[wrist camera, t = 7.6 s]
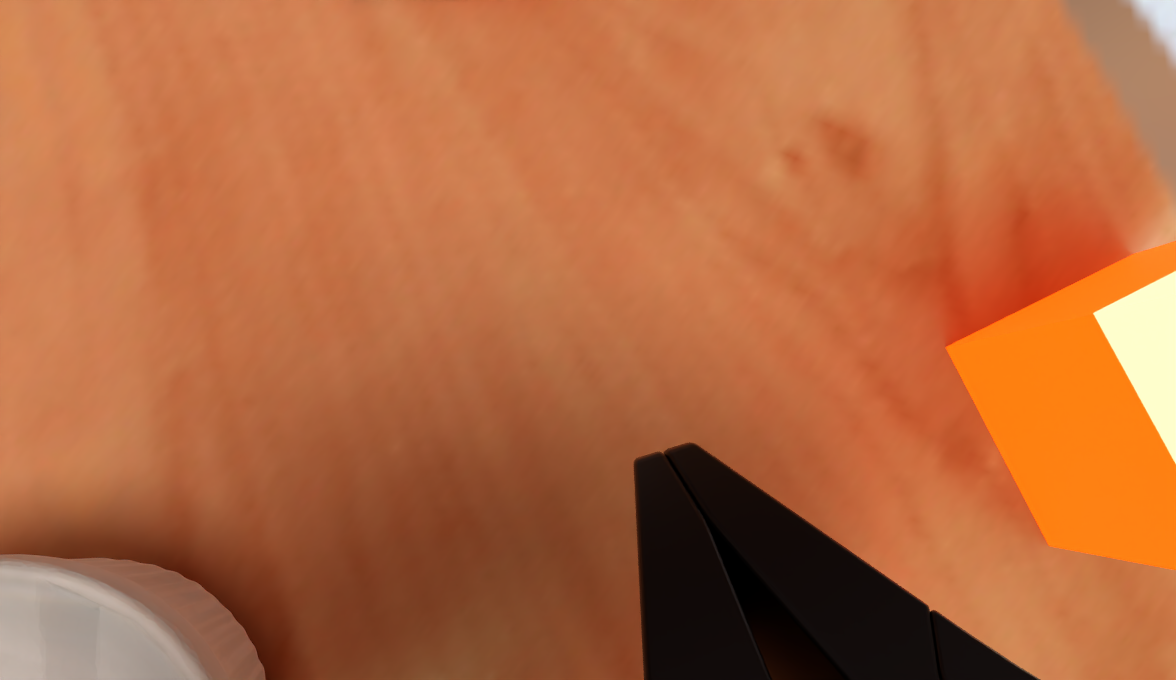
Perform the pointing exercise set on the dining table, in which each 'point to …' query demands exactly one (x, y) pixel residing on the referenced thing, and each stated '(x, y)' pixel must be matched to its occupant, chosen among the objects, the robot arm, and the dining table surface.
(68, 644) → the ramekin
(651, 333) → the dining table surface
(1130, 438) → the orange juice
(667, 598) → the robot arm
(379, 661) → the dining table surface
